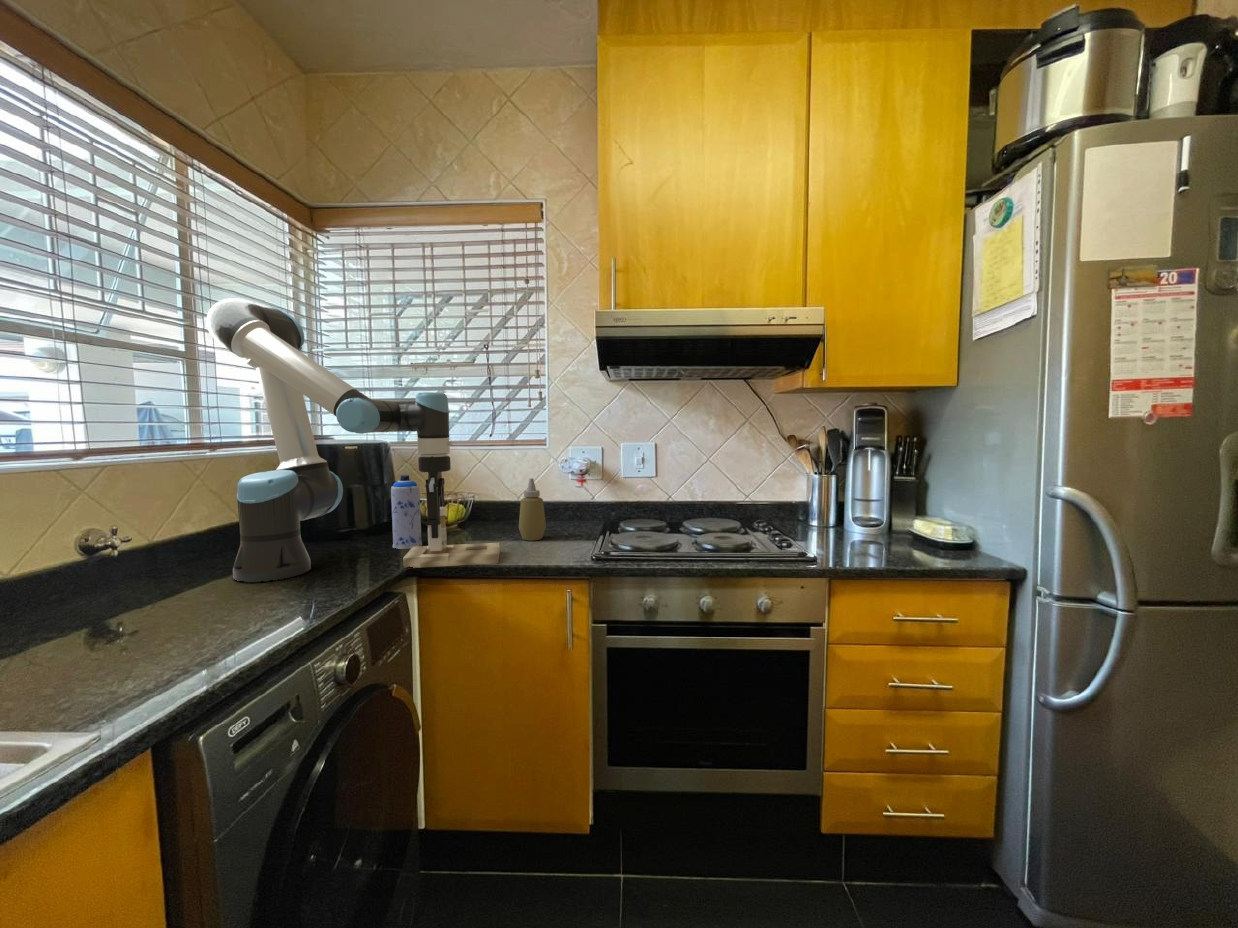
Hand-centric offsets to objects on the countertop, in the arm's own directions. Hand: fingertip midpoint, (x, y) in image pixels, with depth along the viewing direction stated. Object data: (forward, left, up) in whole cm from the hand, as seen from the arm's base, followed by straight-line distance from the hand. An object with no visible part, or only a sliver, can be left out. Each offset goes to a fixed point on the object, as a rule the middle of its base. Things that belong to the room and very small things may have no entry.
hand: (437, 547), depth 134 cm
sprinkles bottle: (0, 0, -3) cm, 3 cm away
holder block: (+4, 0, -3) cm, 5 cm away
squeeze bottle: (+24, +20, -3) cm, 31 cm away
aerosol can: (-11, +19, -3) cm, 22 cm away
